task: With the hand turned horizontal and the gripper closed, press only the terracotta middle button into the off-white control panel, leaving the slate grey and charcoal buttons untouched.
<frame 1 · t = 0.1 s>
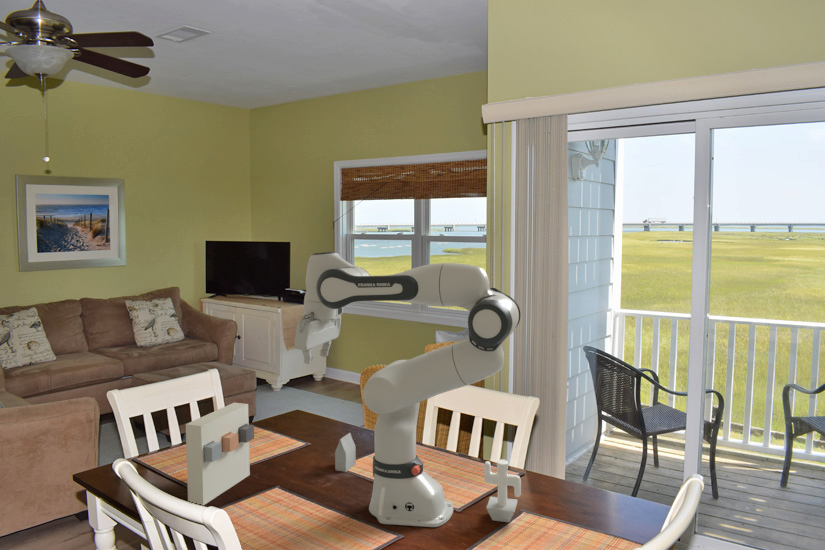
hand: (316, 359, 171), 39 cm above the table, tool pointing down, fingers open, 8 cm apart
charcoal button: (244, 433, 185), point 14 cm above the table, slide at 0.0 cm
slate grey button: (210, 451, 170), point 14 cm above the table, slide at 0.0 cm
control panel: (220, 488, 179), on the table
white carton box: (345, 467, 195), on the table
figurine: (502, 518, 161), on the table
terracotta button: (228, 442, 177), point 14 cm above the table, slide at 0.0 cm
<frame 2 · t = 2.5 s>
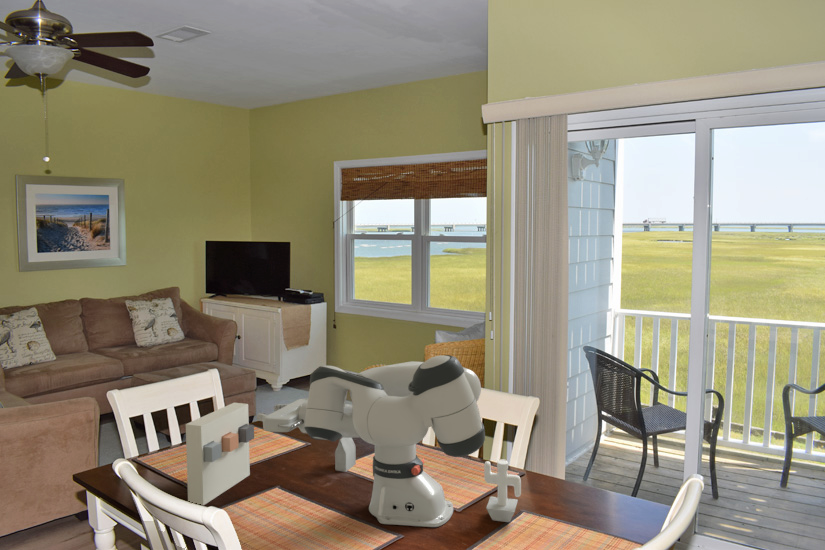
hand: (266, 412, 172), 24 cm above the table, tool horizontal, fingers open, 7 cm apart
nothing on the table moved.
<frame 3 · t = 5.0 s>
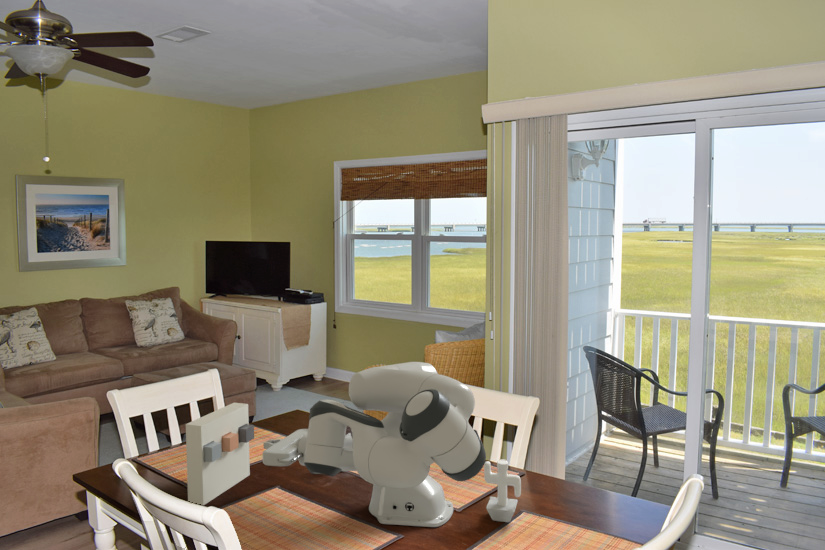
hand: (266, 443, 172), 15 cm above the table, tool horizontal, fingers closed
nothing on the table moved.
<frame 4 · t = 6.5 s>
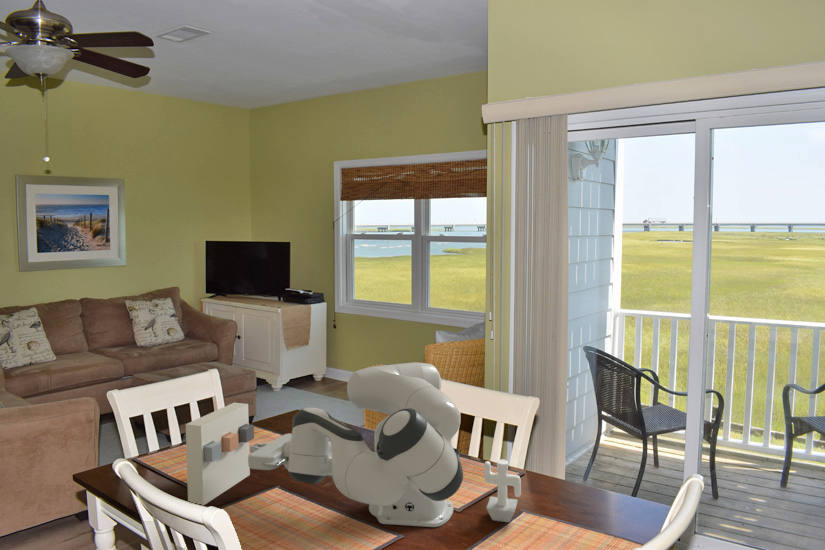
hand: (252, 447, 173), 14 cm above the table, tool horizontal, fingers closed
nothing on the table moved.
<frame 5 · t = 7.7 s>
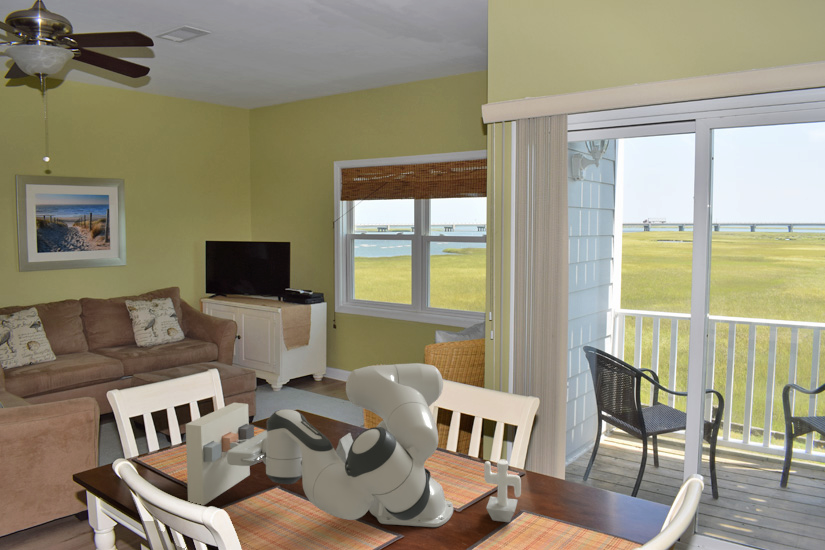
hand: (232, 444, 176), 14 cm above the table, tool horizontal, fingers closed, pressing on terracotta button
terracotta button: (228, 442, 177), point 14 cm above the table, slide at 0.0 cm, touching gripper
everything else where it was.
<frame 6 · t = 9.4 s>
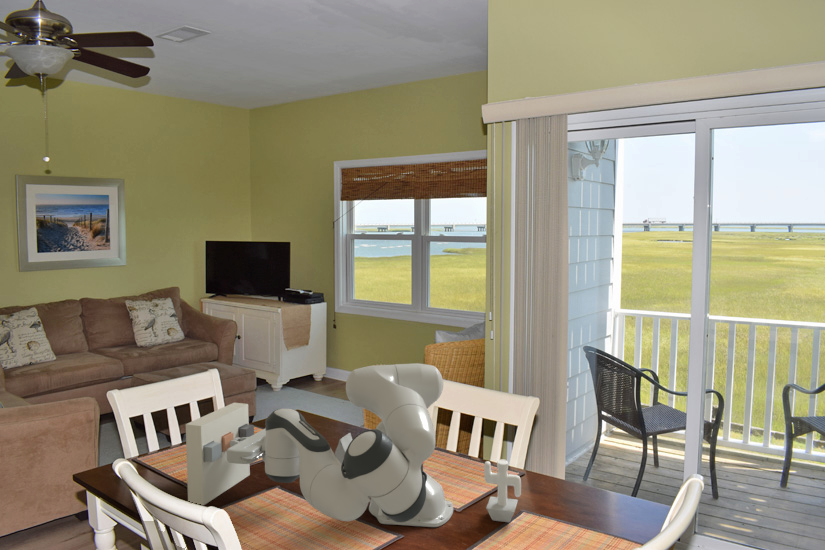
hand: (232, 441, 177), 14 cm above the table, tool horizontal, fingers closed
terracotta button: (223, 441, 178), point 14 cm above the table, slide at 1.6 cm
everything else where it was.
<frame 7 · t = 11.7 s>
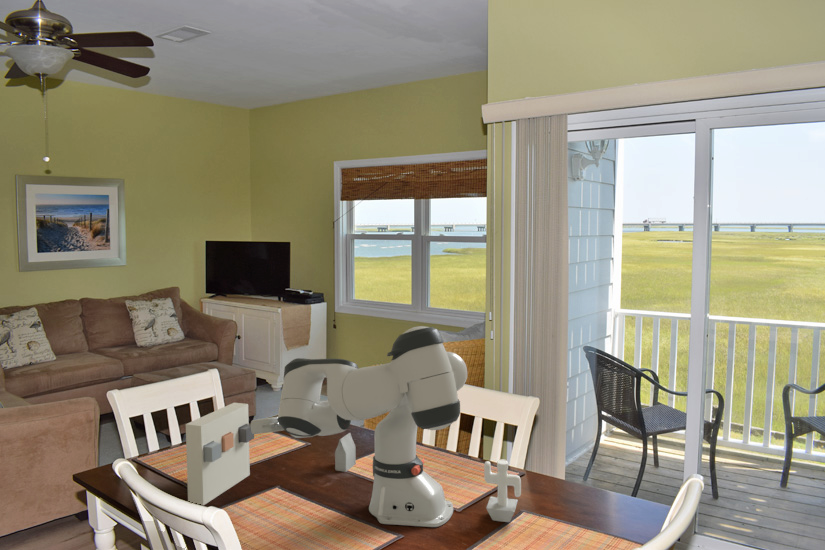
hand: (267, 424, 172), 21 cm above the table, tool horizontal, fingers closed
nothing on the table moved.
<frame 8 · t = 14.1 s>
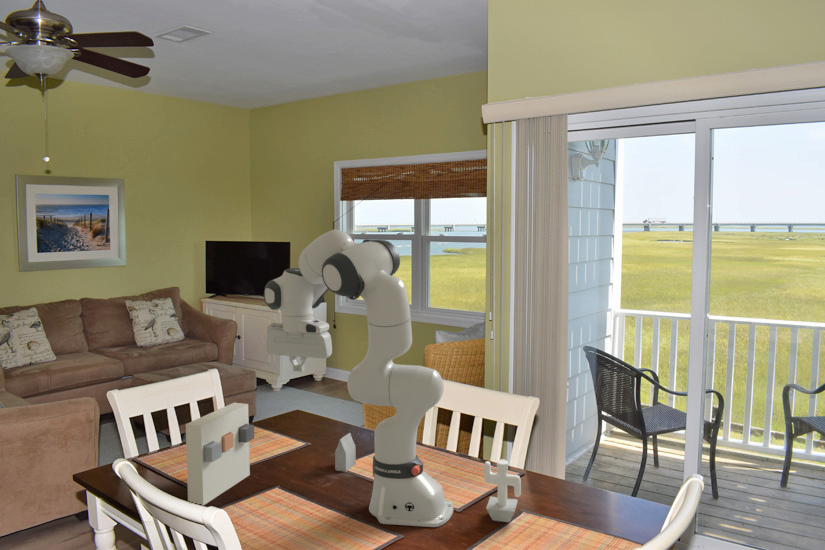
hand: (298, 371, 182), 33 cm above the table, tool pointing down, fingers closed
nothing on the table moved.
at the end: terracotta button slide at 1.6 cm; charcoal button slide at 0.0 cm; slate grey button slide at 0.0 cm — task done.
